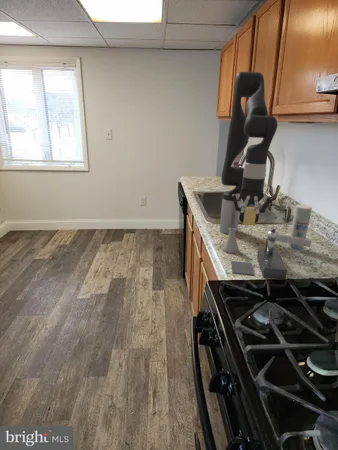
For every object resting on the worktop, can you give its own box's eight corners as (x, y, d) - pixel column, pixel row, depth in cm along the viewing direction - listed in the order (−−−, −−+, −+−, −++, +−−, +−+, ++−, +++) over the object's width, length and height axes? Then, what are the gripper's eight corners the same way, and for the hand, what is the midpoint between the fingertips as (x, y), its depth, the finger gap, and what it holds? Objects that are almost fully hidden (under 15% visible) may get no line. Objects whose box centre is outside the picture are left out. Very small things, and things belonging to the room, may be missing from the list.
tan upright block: (242, 220, 113) (243, 206, 111) (252, 221, 113) (254, 207, 111) (243, 224, 108) (244, 210, 107) (254, 225, 108) (256, 210, 106)
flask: (227, 245, 138) (229, 225, 135) (241, 250, 134) (244, 229, 130) (218, 250, 133) (220, 229, 129) (233, 255, 128) (235, 233, 125)
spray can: (301, 246, 140) (309, 205, 134) (305, 252, 134) (313, 209, 127) (286, 245, 141) (294, 204, 134) (289, 250, 135) (297, 207, 128)
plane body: (257, 257, 127) (260, 235, 124) (276, 259, 126) (280, 237, 123) (262, 277, 110) (266, 253, 107) (285, 280, 109) (290, 255, 106)
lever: (266, 239, 119) (267, 229, 117) (268, 236, 122) (269, 227, 120) (309, 248, 112) (311, 237, 110) (310, 244, 115) (312, 234, 114)
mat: (231, 261, 122) (231, 260, 122) (251, 263, 121) (251, 262, 121) (232, 273, 112) (232, 272, 112) (254, 275, 111) (254, 274, 111)
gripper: (273, 175, 107) (266, 220, 113) (232, 173, 109) (228, 217, 115) (277, 179, 100) (269, 227, 106) (233, 176, 102) (228, 224, 108)
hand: (248, 222), depth 110 cm, fingers closed on tan upright block, 4 cm apart
